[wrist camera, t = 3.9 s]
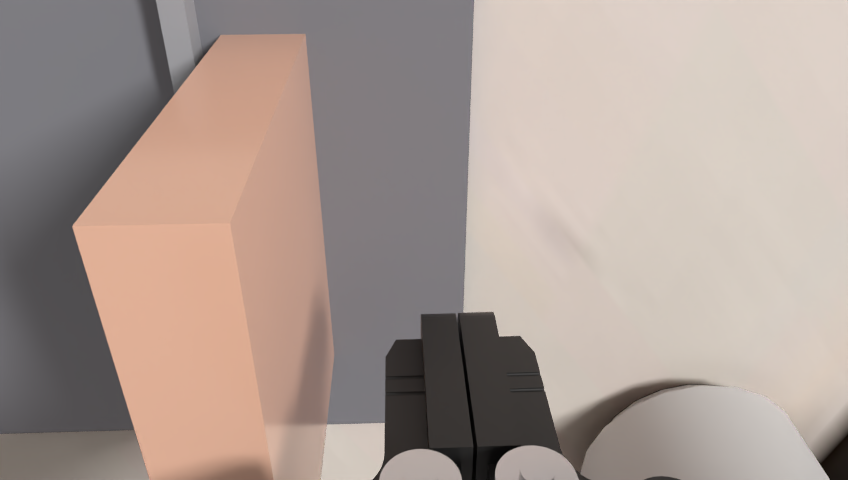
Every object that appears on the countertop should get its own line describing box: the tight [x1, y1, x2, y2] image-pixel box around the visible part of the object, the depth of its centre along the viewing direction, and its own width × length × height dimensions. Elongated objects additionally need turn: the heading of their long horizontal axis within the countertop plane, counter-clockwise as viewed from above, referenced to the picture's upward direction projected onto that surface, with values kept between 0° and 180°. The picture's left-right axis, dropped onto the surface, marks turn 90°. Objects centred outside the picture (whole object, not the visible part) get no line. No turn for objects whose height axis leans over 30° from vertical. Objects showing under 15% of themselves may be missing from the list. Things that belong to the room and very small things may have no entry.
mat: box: [0, 0, 474, 434], centre depth 19 cm, size 20×16×1 cm
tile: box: [72, 34, 334, 480], centre depth 15 cm, size 2×10×9 cm, turn 0°
